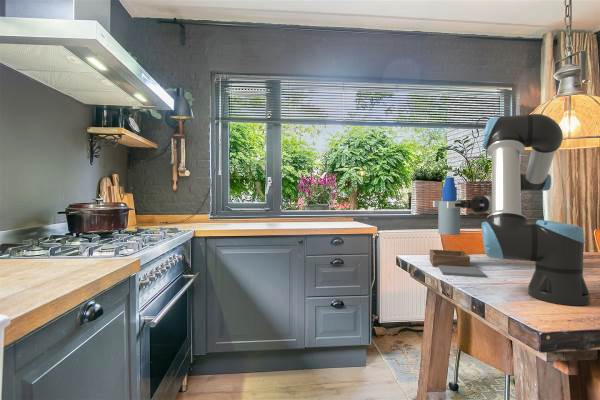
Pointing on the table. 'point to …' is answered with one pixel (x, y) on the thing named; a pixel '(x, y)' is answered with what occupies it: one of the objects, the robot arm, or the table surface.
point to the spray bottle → (448, 210)
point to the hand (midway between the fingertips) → (440, 204)
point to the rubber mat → (461, 271)
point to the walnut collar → (449, 258)
